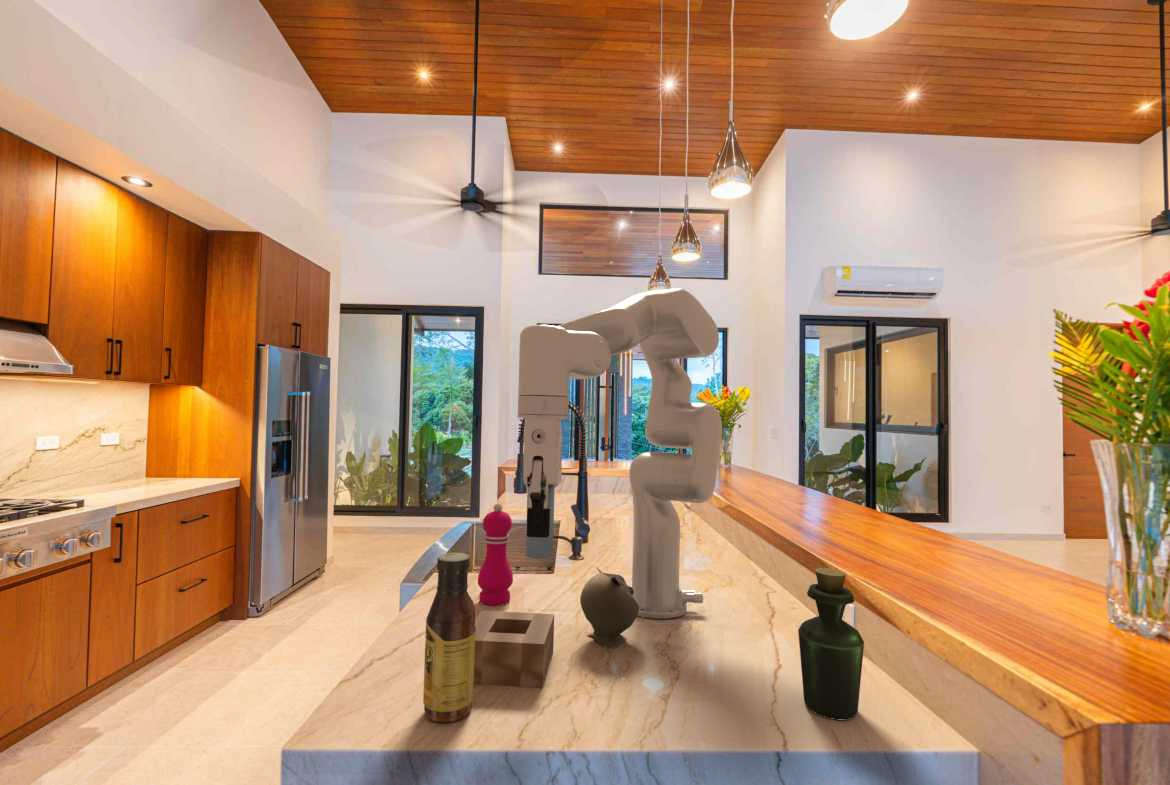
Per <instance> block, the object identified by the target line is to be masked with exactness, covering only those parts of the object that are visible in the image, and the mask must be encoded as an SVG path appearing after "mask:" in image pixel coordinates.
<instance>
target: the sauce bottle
mask: <svg viewBox="0 0 1170 785" xmlns="http://www.w3.org/2000/svg"><path fill="white" fill-rule="evenodd" d="M470 560H471V559H470V555H469V554H467V553H464V552H447V553H443V554H441V555H438V557H437V561H436V562H437V564H436V568H437V571H438V572H437V574H438V575H437V577H438V578H437V587H436V592H435V595H434V598H433V601H432V604H431V606H430V609H429V611H428V613H427V616H426V618H425V619H426V620H425V642H424V643H425V644H424V667H423V668H424V672H423V673H424V674H423V694H422V696H423V699H422V701H423V703H422V704H423V708H424V714H425V717H427V719H428V720H429V721H432V722H436V723H441V724H442V723H452V722H453V723H454V722H456V721H460V720H462V719H464V718H466V717H467V715H468V714H469V713H470V711H471V710H472V707H473V699H474V685H475V684H474V663H475V634H476V627H475V619H476V615H477V614H476V613H477V612H476V606H475V603H474V600H473V599H472V598H471V596H470V595H469V594H470V593H469V592H468V588H469V584H468V576H469V575H468V574H469V572H468V571H469V569H470Z"/></svg>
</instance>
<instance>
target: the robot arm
mask: <svg viewBox="0 0 1170 785" xmlns="http://www.w3.org/2000/svg"><path fill="white" fill-rule="evenodd" d="M719 342H720V333H719V329H718V326H717V324H716V322H715V320H714V319H713V317H712V316H711V315H710V313H708V311H707V310H706V309H705V307H704V306H703V305H702V304H701V302H700V301H699V299H697V298H696V297H695V296H694V295H693V294H692V293H691V292H689V291H687V290H685V289H684V288H683V289H682V288H669V289H660V290H654V291H653V290H652V291H646V292H641V293H637V294H635V295H632V296H630V297H629V298H626V299H624V300H622V301H620V302H619V303H617V304H614V305H613V306H611V307H608V308H607V309H604V310H600V311H597V312H594V313H591V314H588V315H587V316H583V317H580V318H577V319H574V320H571V321H568V322H565V323H562V324H559V325H549V324H534V325H529V326H526V327H524V328H523V329H522V330H521V332H520V335H519V354H518V355H519V357H518V358H519V359H518V391H517V392H518V394H517V419H524V430H523V433H524V434H523V462H522V464H523V470H522V472H523V473H522V474H523V476H522V478H523V485H524V486H525V487H529V501H528V509H527V508H526V524H527V536H528V537H543V538H547V537H548V536H549V528H550V509H548V497H549V484H553V488H555V489H556V488H557V487H558V486H559V485H560V484H561V482H562V480H563V479H562V477H563V474H562V473H563V470H562V467H563V465H562V464H563V462H562V461H563V460H562V458H563V457H562V456H563V453H562V451H563V434H562V433H563V430H562V426H563V425H562V420H569V397H570V396H569V395H570V394H569V393H570V388H569V387H570V380H590V379H595V378H598V377H600V376H602V375H603V374H605V372H607V371H608V369H609V367H610V365H611V363H612V356H616V355H620V354H625V353H628V352H629V351H630V350H632V349H634V348H635V347H637V346H638V345H639V347H640V349H641V352H642V354H643V356H644V359H645V361H646V363H647V366H648V369H649V372H650V376H651V391H650V397H649V398H650V399H649V403H648V408H647V409H648V410H647V415H646V421H645V430H644V432H645V433H644V434H645V438H646V440H647V442H648V443H649V444H651V445H653V446H655V447H660V448H671V449H686V450H687V449H688V450H691V451H690V452H691V453H679V452H667V451H647V452H642V453H640V454H638V455H636V456H635V458H633V460H632V461H631V463H630V467H629V484H630V489H631V496H632V507H633V509H632V511H633V521H632V522H633V524H632V525H633V526H632V527H633V530H632V533H633V534H632V568H631V569H632V574H631V575H632V577H631V578H632V579H631V580H632V581H631V582H632V583H631V587H632V588H633V590H634V594H633V595H632V596H633V598H634V599H635V600H636V602H637V603H638V605H639V612H638V615H637V617H638V616H639V617H642V618H647V619H655V620H656V619H657V620H658V619H659V620H661V619H662V620H664V619H665V620H666V619H673V618H675V619H676V618H678V617H681V616H683V615H685V614H686V613H687V607H688V605H687V604H688V603H693V604H703V603H704V595H703V592H696V590H693V589H692V590H691V589H690V590H689V589H688V590H687V589H686V590H684V589H683V588H682V587H681V584H680V556H681V555H680V554H681V553H680V552H681V549H680V548H681V521H680V517H679V516H680V515H678V512H677V509H676V508H675V506H674V505H673V503H672V501H673V502H682V503H684V502H685V503H691V504H692V503H693V504H702V503H703V504H704V503H707V502H708V501H710V500H711V498H713V497H712V496H713V495H714V492H715V489H716V485H717V484H716V483H717V477H718V469H719V461H720V452H721V446H722V438H723V437H722V435H723V424H722V417H721V414H720V412H719V410H718V409H717V408H716V406H714V405H713V404H710V403H706V402H691V396H692V389H693V388H692V387H693V385H692V383H693V382H692V380H691V378H690V375H689V374H688V373H687V371H686V370H685V369H684V368H683V367H682V365H681V364H680V363H679V361H678V359H680V360H681V359H698V358H707V357H709V356H711V355H713V354H714V353H715V352H716V350H717V349H718V346H719ZM529 476H530V481H529V480H528V477H529ZM541 482H546V487H541ZM541 491H544V493H543V492H541Z"/></svg>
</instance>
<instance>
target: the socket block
mask: <svg viewBox="0 0 1170 785" xmlns="http://www.w3.org/2000/svg"><path fill="white" fill-rule="evenodd" d="M475 627H476V634H475V663H474V685H488V686H489V685H490V686H504V687H505V686H507V687H524V688H525V687H527V688H539V689H540V688H544V685H545V682H546V678H547V674H548V671H549V667H550V665H551V661H552V657H553V654H554V642H555V641H554V636H555V633H554V632H555V631H554V630H555V613H541V612H540V613H537V612H517V611H516V612H515V611H501V610H500V611H496V610H480V612H479V614H478V616H476V617H475Z"/></svg>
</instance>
